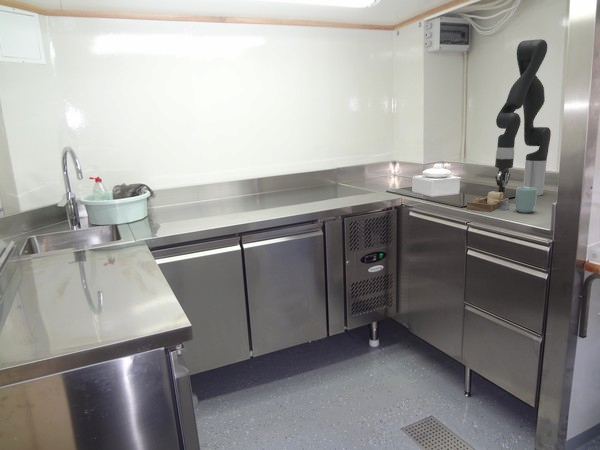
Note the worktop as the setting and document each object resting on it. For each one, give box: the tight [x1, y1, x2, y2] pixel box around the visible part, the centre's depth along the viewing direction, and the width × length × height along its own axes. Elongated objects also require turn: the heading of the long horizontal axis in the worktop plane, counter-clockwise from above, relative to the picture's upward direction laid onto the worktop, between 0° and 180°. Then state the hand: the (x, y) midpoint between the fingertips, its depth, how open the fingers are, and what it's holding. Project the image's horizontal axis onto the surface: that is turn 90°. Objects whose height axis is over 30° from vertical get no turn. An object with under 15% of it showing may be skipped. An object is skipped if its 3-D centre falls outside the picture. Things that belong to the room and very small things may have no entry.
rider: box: [486, 191, 504, 204], centre depth 197 cm, size 5×5×5 cm
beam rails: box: [466, 195, 510, 213], centre depth 192 cm, size 22×10×3 cm, turn 136°
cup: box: [514, 186, 538, 214], centre depth 179 cm, size 8×8×10 cm
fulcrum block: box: [497, 200, 510, 211], centre depth 186 cm, size 4×3×4 cm
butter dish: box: [411, 163, 463, 198], centre depth 228 cm, size 18×18×16 cm
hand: (501, 194), depth 202 cm, fingers closed
